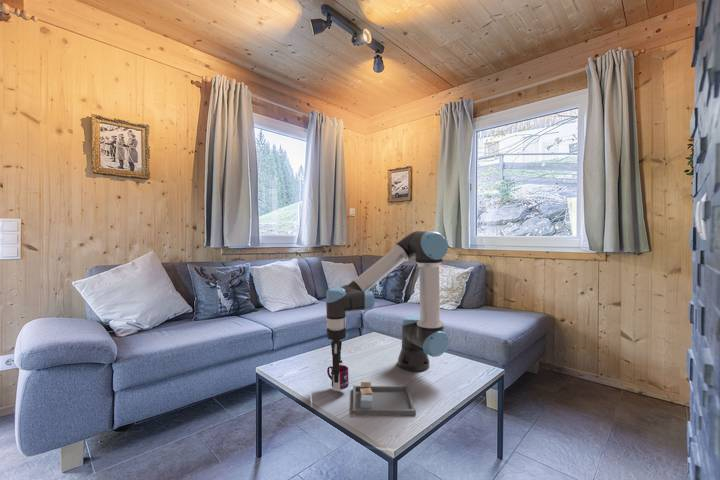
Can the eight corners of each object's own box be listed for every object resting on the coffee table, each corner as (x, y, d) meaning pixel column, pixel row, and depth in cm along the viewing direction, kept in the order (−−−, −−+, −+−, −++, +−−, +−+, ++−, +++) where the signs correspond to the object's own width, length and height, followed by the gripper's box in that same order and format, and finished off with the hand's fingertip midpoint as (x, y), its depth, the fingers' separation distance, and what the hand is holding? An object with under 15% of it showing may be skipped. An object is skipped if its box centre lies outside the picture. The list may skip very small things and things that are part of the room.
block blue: (372, 406, 120) (372, 395, 120) (371, 412, 116) (371, 401, 116) (361, 405, 120) (362, 394, 120) (360, 411, 116) (360, 400, 116)
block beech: (370, 398, 125) (370, 387, 125) (372, 403, 122) (372, 393, 121) (360, 399, 125) (360, 388, 125) (362, 404, 121) (362, 393, 121)
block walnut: (370, 392, 130) (370, 382, 130) (371, 397, 126) (371, 387, 126) (360, 392, 130) (360, 382, 130) (360, 397, 126) (360, 386, 126)
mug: (339, 391, 125) (338, 374, 125) (323, 382, 132) (322, 366, 132) (352, 385, 130) (351, 368, 129) (335, 377, 137) (335, 361, 137)
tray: (407, 391, 132) (407, 385, 132) (415, 416, 114) (415, 410, 114) (353, 390, 132) (353, 385, 132) (352, 416, 114) (352, 410, 114)
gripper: (328, 320, 139) (329, 373, 140) (324, 336, 119) (325, 398, 120) (346, 320, 139) (347, 372, 140) (344, 336, 119) (345, 397, 120)
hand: (337, 384), depth 130 cm, fingers closed on mug, 7 cm apart
